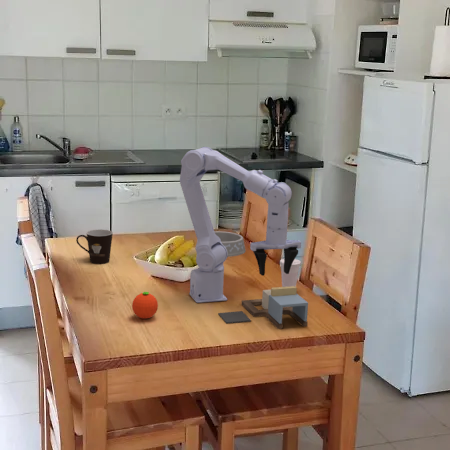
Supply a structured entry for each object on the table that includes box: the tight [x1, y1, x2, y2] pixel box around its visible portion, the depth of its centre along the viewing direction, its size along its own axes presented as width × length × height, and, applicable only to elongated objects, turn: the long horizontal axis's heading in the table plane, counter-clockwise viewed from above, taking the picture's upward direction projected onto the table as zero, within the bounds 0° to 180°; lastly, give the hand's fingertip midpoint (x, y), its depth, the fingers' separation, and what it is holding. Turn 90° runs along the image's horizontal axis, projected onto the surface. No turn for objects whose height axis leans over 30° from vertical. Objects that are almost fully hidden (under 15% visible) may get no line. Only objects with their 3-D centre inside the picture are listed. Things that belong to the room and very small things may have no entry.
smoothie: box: [279, 258, 302, 288], centre depth 214 cm, size 6×6×14 cm
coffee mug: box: [75, 229, 114, 265], centre depth 237 cm, size 12×9×10 cm
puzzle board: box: [241, 298, 308, 330], centre depth 197 cm, size 15×20×1 cm
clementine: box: [131, 291, 159, 319], centre depth 190 cm, size 8×7×7 cm
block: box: [261, 289, 271, 309], centre depth 200 cm, size 4×4×5 cm
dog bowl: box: [214, 230, 246, 258], centre depth 257 cm, size 17×18×5 cm
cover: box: [268, 286, 309, 324], centre depth 190 cm, size 8×8×7 cm
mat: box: [218, 310, 252, 325], centre depth 193 cm, size 7×7×1 cm
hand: (274, 273), depth 199 cm, fingers open, 7 cm apart
